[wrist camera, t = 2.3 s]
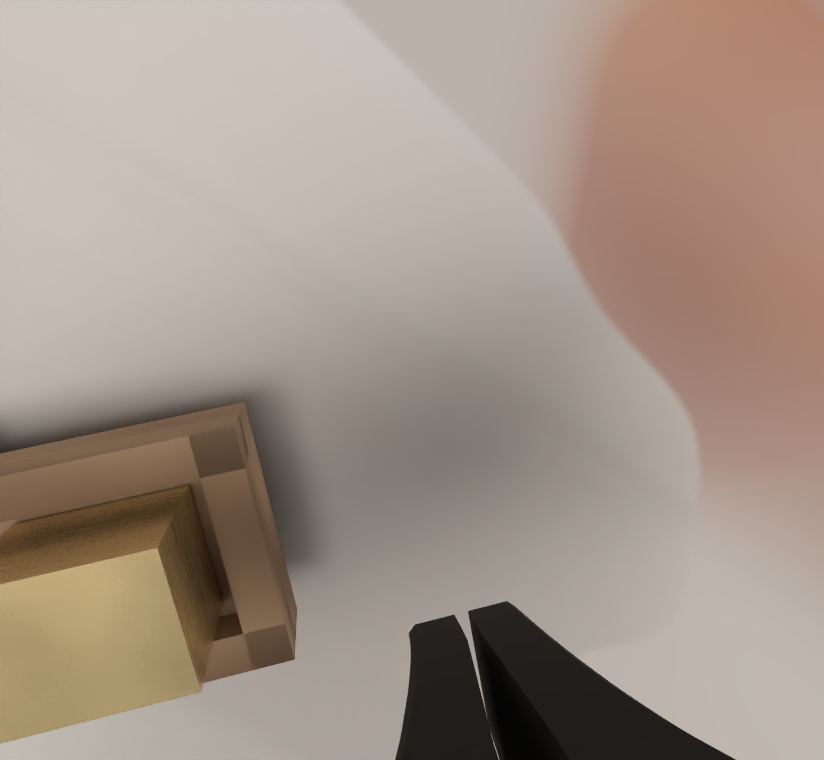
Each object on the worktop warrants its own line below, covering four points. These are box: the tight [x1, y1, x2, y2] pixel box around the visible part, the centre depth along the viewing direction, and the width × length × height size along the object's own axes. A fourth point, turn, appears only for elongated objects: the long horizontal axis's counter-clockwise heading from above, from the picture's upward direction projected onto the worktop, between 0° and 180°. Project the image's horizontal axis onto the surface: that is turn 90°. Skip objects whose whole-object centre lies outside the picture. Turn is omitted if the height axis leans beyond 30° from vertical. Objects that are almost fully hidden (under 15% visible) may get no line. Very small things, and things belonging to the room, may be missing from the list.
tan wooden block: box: [0, 485, 223, 743], centre depth 14 cm, size 3×4×3 cm
